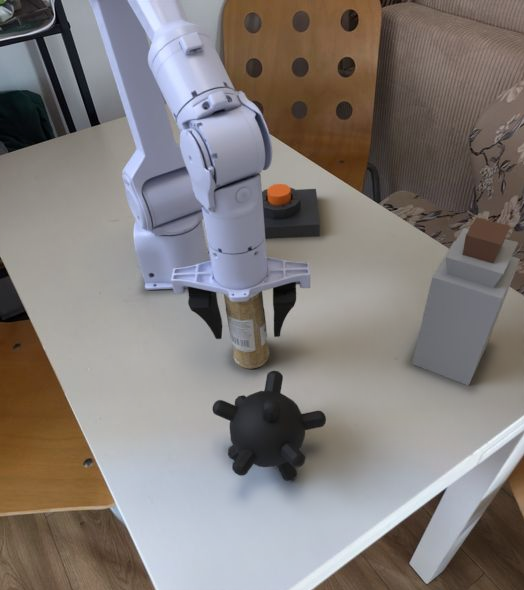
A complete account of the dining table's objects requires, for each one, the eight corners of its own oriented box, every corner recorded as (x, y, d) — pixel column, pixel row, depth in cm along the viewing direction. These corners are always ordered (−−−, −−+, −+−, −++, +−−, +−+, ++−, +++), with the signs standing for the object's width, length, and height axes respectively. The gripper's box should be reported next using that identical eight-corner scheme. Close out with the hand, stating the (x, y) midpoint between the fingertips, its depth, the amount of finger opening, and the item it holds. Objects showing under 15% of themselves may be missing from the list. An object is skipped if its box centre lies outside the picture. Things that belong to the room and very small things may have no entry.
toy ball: (295, 368, 59) (364, 422, 50) (253, 446, 60) (313, 513, 51) (221, 344, 52) (286, 402, 43) (177, 433, 54) (230, 507, 45)
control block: (242, 240, 80) (239, 217, 77) (244, 203, 87) (242, 182, 84) (319, 236, 80) (320, 214, 77) (315, 200, 86) (316, 178, 83)
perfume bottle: (468, 385, 59) (516, 261, 46) (412, 363, 62) (441, 240, 48) (486, 347, 63) (534, 221, 49) (431, 328, 65) (464, 203, 52)
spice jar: (277, 355, 64) (271, 270, 54) (250, 376, 62) (239, 293, 52) (251, 337, 66) (241, 253, 56) (225, 357, 64) (209, 273, 54)
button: (267, 207, 80) (267, 197, 78) (267, 194, 82) (267, 184, 81) (291, 205, 79) (290, 195, 78) (290, 193, 82) (290, 183, 80)
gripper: (157, 265, 49) (183, 359, 59) (312, 258, 48) (311, 355, 58) (167, 221, 53) (189, 315, 63) (308, 214, 52) (308, 311, 63)
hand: (248, 331), depth 61 cm, fingers open, 6 cm apart
